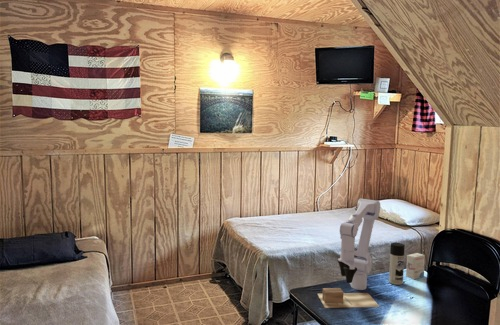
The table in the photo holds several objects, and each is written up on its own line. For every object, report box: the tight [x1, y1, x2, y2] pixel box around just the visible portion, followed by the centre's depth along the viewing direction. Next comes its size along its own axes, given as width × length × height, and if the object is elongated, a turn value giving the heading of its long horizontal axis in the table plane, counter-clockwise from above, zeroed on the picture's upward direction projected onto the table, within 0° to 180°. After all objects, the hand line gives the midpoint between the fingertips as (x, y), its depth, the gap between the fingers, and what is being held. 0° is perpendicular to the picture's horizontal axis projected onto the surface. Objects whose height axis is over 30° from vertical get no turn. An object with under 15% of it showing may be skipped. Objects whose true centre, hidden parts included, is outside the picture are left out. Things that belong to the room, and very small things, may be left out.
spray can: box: [388, 241, 406, 286], centre depth 201 cm, size 7×7×20 cm
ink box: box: [405, 252, 426, 280], centre depth 211 cm, size 9×5×12 cm, turn 119°
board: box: [317, 292, 381, 309], centre depth 178 cm, size 14×24×2 cm, turn 94°
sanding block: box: [322, 287, 345, 304], centre depth 176 cm, size 4×8×5 cm, turn 94°
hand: (346, 279), depth 179 cm, fingers open, 7 cm apart
